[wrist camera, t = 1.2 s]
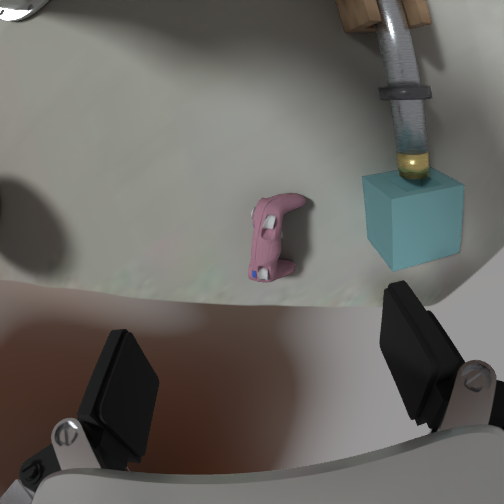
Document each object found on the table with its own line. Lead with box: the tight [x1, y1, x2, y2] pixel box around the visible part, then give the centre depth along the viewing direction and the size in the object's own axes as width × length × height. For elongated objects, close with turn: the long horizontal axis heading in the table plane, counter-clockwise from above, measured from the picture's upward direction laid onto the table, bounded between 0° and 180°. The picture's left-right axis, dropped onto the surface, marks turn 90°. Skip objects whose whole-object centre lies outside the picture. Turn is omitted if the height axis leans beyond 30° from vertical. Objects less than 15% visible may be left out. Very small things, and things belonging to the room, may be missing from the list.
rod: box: [374, 0, 432, 179], centre depth 22 cm, size 26×5×5 cm, turn 13°
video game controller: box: [248, 193, 306, 282], centre depth 33 cm, size 10×5×7 cm, turn 176°
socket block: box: [362, 167, 464, 272], centre depth 31 cm, size 8×9×8 cm
